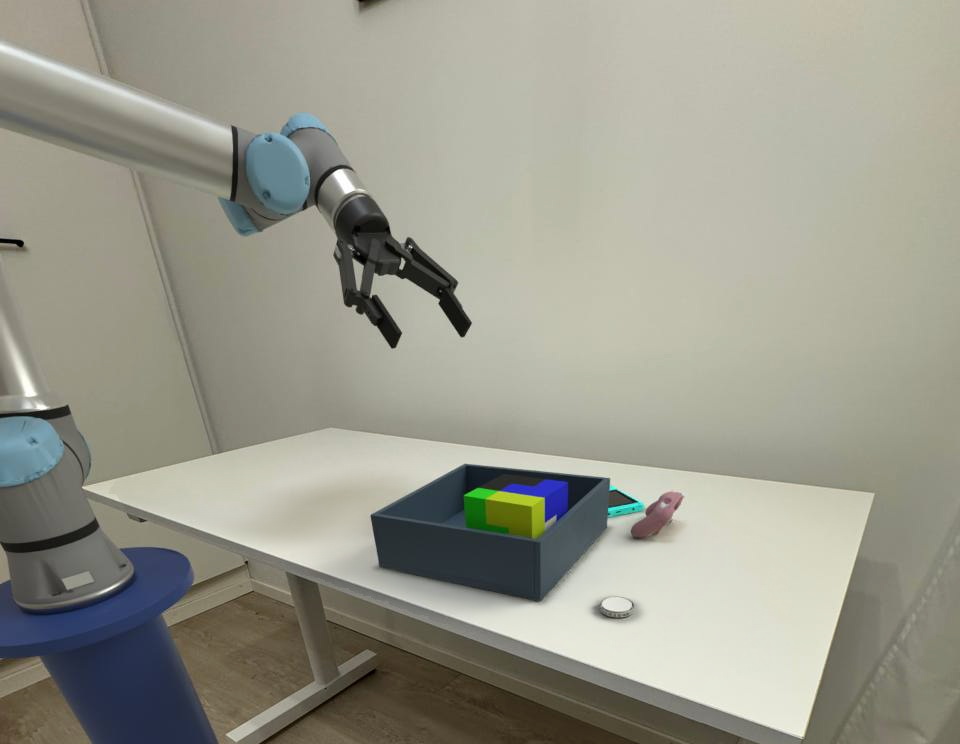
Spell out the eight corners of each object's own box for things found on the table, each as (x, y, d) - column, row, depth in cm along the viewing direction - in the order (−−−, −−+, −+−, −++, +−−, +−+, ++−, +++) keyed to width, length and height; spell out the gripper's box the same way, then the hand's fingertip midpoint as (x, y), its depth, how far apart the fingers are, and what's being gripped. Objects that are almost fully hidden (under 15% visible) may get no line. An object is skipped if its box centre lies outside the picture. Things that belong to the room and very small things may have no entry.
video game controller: (652, 551, 83) (679, 514, 78) (626, 534, 83) (651, 496, 79) (668, 527, 90) (694, 492, 85) (644, 512, 91) (668, 476, 86)
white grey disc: (628, 599, 68) (628, 595, 68) (637, 616, 65) (638, 611, 64) (596, 601, 68) (596, 597, 68) (603, 618, 65) (604, 613, 64)
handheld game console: (599, 483, 106) (599, 476, 105) (645, 510, 93) (646, 502, 92) (550, 492, 103) (551, 485, 102) (592, 520, 90) (592, 512, 90)
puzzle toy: (566, 551, 79) (568, 482, 73) (532, 580, 72) (531, 506, 66) (506, 539, 84) (503, 473, 78) (469, 565, 77) (463, 495, 71)
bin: (379, 567, 80) (370, 514, 76) (468, 508, 99) (464, 463, 94) (540, 601, 69) (540, 542, 65) (607, 528, 87) (610, 477, 83)
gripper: (411, 241, 92) (481, 345, 91) (274, 243, 78) (355, 366, 77) (428, 196, 86) (503, 306, 85) (283, 189, 71) (371, 322, 71)
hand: (433, 335), depth 81 cm, fingers open, 13 cm apart
